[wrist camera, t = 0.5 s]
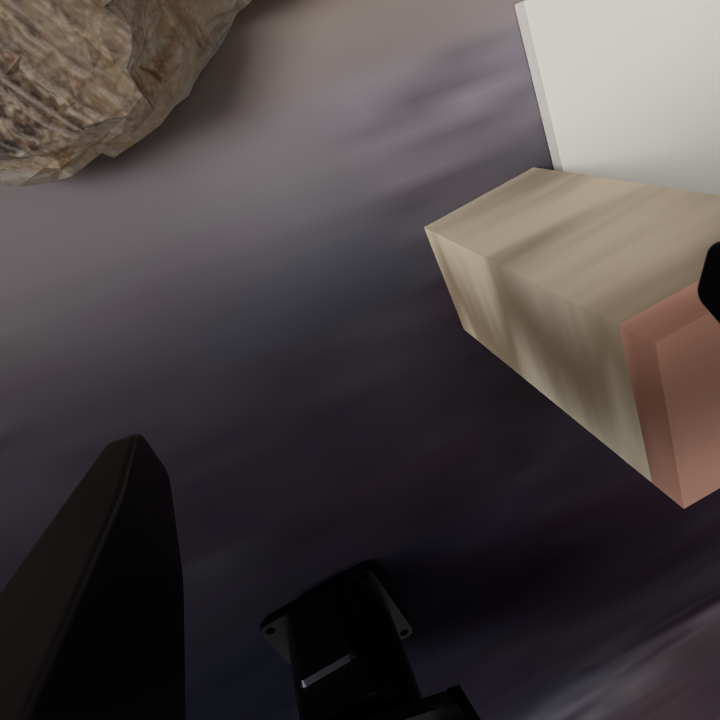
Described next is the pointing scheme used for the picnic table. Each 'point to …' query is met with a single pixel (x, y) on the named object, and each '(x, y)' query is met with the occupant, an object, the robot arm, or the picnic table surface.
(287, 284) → the picnic table surface
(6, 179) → the flat brown rock
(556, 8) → the white board
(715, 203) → the birch block
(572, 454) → the picnic table surface
